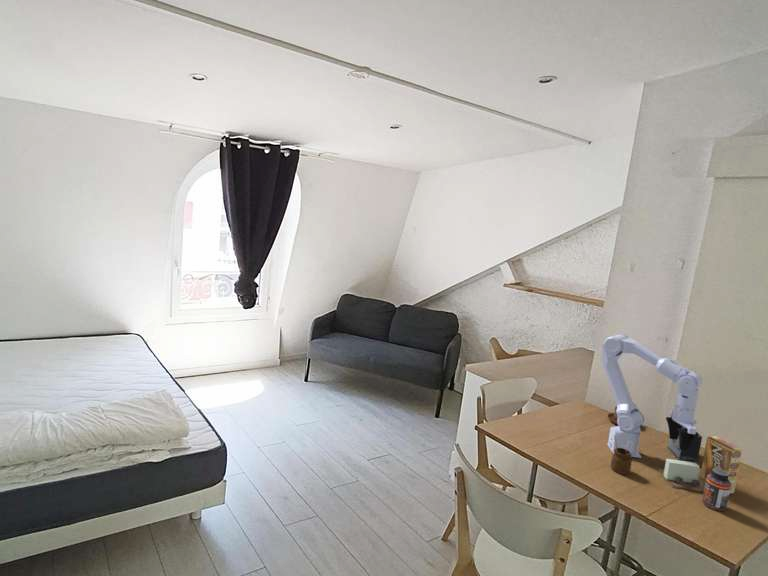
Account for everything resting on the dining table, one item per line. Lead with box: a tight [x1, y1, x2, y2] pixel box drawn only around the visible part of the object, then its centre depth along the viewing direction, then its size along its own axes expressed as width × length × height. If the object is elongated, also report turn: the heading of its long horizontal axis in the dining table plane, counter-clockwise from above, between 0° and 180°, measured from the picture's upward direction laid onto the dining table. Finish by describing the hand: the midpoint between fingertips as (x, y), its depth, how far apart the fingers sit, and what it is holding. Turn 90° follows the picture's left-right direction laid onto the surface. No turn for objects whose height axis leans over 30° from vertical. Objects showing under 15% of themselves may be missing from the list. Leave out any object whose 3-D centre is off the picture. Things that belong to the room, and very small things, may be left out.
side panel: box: [658, 468, 706, 493], centre depth 145 cm, size 12×10×3 cm
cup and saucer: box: [607, 405, 618, 425], centre depth 188 cm, size 12×12×6 cm
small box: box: [667, 426, 703, 464], centre depth 162 cm, size 11×6×10 cm, turn 168°
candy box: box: [699, 436, 743, 495], centre depth 142 cm, size 9×4×15 cm, turn 13°
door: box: [663, 458, 701, 483], centre depth 144 cm, size 9×2×6 cm, turn 79°
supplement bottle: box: [702, 468, 731, 512], centre depth 132 cm, size 6×6×11 cm
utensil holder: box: [610, 435, 634, 475], centre depth 148 cm, size 6×6×12 cm
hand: (678, 444), depth 150 cm, fingers open, 7 cm apart
